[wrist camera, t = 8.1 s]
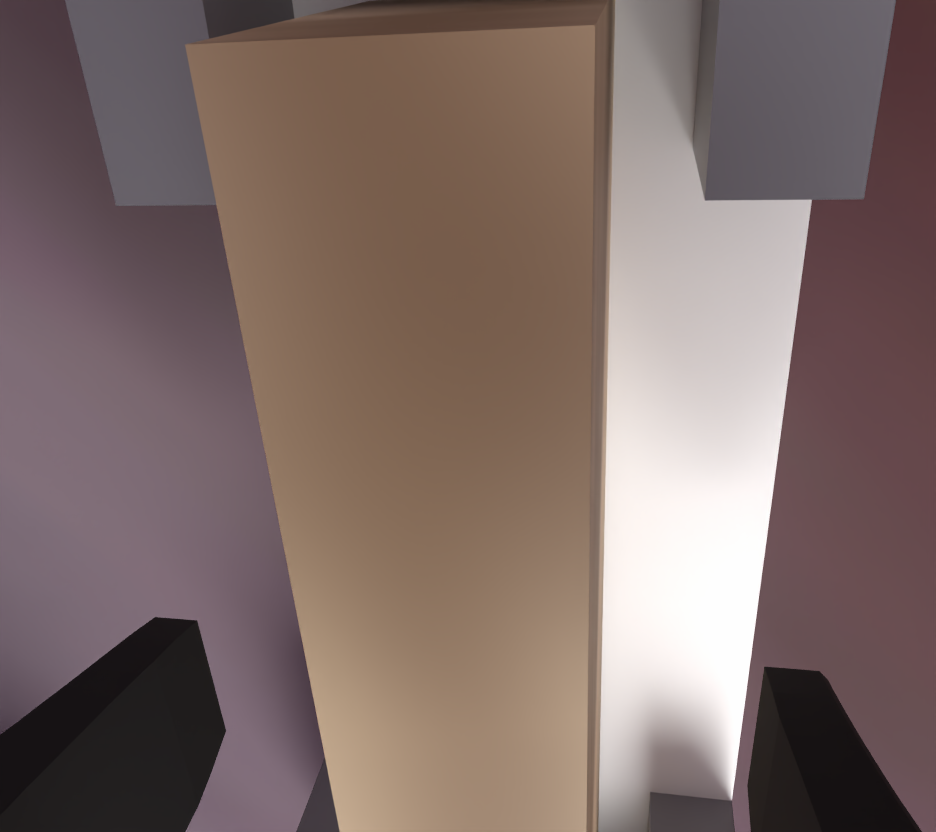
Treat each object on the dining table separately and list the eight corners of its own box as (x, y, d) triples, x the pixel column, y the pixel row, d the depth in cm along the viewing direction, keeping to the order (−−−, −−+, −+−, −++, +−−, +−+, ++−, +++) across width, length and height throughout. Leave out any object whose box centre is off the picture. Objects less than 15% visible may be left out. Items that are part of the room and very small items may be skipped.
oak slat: (454, 839, 18) (395, 1117, 14) (369, 0, 11) (186, 45, 6) (597, 857, 18) (583, 1151, 13) (615, -13, 10) (595, 25, 6)
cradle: (363, 852, 21) (316, 1008, 18) (173, -231, 11) (-8, -295, 8) (709, 896, 19) (722, 1075, 16) (860, -303, 9) (963, -418, 6)
